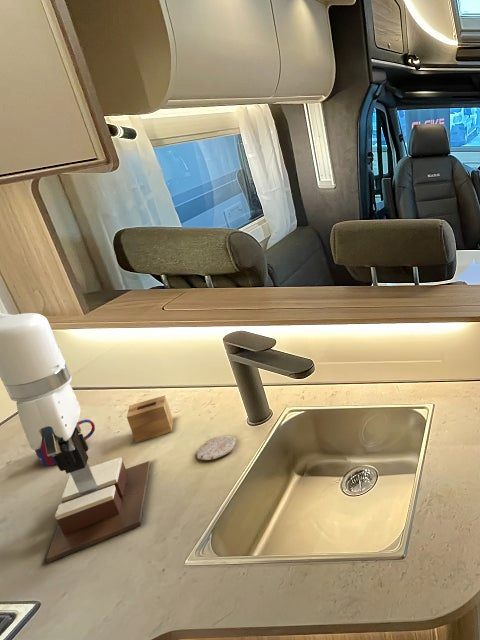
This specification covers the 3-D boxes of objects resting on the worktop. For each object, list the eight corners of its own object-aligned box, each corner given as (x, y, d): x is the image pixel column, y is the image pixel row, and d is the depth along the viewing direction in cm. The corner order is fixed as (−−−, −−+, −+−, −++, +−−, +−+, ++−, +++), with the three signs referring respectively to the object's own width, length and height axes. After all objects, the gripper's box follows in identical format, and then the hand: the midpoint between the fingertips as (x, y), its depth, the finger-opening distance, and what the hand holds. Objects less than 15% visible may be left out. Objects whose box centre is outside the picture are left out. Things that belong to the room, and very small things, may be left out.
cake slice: (63, 535, 79) (54, 516, 77) (67, 523, 81) (58, 504, 80) (119, 513, 83) (111, 495, 82) (121, 502, 86) (114, 484, 84)
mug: (40, 455, 98) (29, 432, 95) (98, 432, 105) (89, 410, 102) (41, 471, 94) (30, 447, 91) (101, 446, 101) (92, 423, 98)
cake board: (47, 563, 75) (45, 559, 75) (72, 491, 89) (70, 487, 89) (140, 525, 82) (139, 521, 82) (150, 464, 96) (149, 460, 96)
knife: (84, 512, 82) (53, 445, 76) (87, 500, 84) (57, 435, 78) (102, 505, 83) (72, 439, 77) (104, 494, 85) (76, 429, 80)
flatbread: (189, 460, 97) (188, 457, 97) (213, 436, 104) (212, 433, 104) (222, 462, 97) (221, 459, 96) (244, 438, 104) (243, 435, 103)
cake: (69, 516, 83) (61, 498, 81) (78, 491, 88) (70, 473, 86) (123, 496, 87) (115, 479, 85) (127, 473, 92) (121, 456, 91)
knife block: (136, 443, 102) (126, 417, 99) (138, 430, 106) (129, 405, 103) (171, 431, 106) (163, 406, 103) (173, 419, 109) (165, 395, 107)
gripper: (24, 365, 78) (59, 441, 84) (-11, 416, 65) (33, 501, 71) (79, 352, 82) (108, 426, 88) (56, 398, 69) (92, 480, 75)
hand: (74, 459), depth 80 cm, fingers closed on knife, 3 cm apart
